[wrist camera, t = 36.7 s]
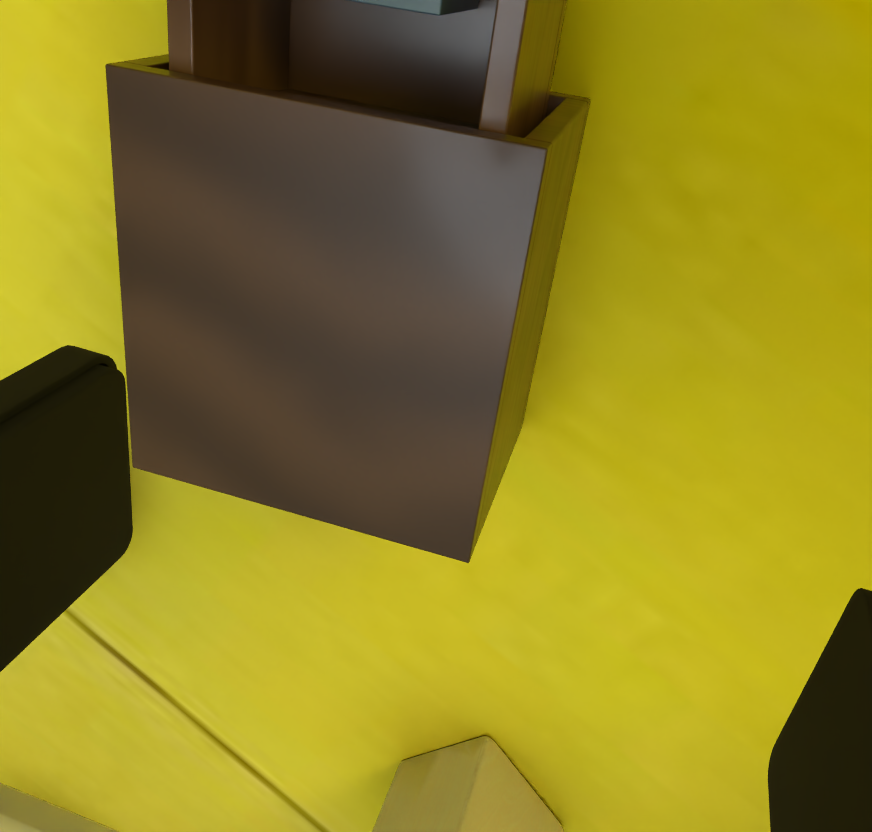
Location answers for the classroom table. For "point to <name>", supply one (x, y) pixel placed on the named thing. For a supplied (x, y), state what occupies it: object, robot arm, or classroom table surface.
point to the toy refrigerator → (463, 794)
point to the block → (426, 5)
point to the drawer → (381, 55)
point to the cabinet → (332, 297)
